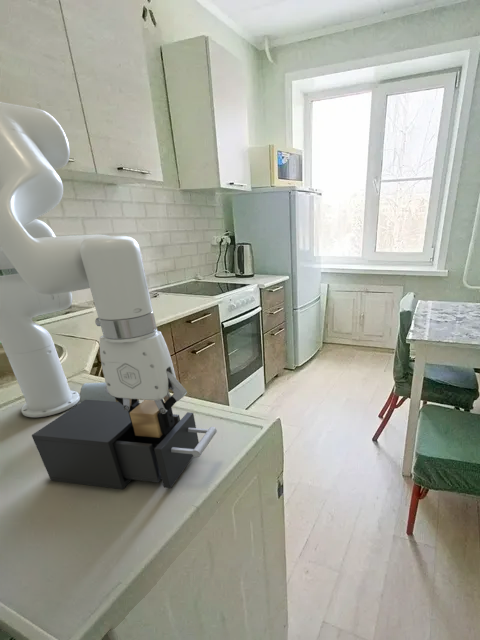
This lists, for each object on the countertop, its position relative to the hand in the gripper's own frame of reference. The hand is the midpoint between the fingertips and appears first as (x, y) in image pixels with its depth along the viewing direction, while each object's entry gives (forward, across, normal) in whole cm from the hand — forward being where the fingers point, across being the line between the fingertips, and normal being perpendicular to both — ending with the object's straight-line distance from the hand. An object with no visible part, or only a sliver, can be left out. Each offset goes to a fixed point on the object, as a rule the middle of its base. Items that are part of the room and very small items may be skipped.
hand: (154, 427), depth 61 cm
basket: (+8, 0, 0) cm, 8 cm away
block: (0, 0, 0) cm, 0 cm away
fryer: (+9, -11, 0) cm, 14 cm away
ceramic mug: (+9, -25, +18) cm, 33 cm away
